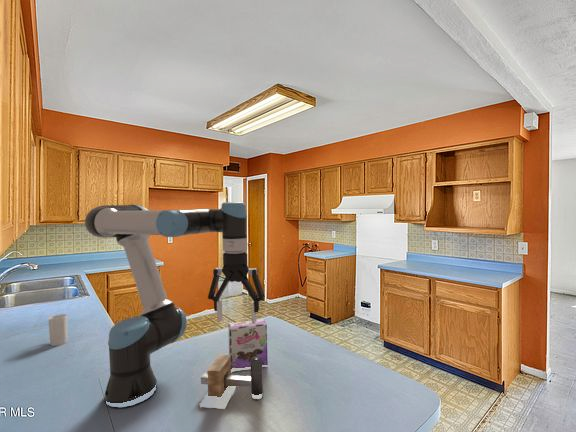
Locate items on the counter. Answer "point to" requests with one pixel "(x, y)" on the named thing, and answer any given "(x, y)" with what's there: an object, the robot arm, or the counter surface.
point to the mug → (58, 329)
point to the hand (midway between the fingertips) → (236, 321)
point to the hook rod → (245, 377)
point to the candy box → (247, 342)
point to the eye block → (218, 375)
